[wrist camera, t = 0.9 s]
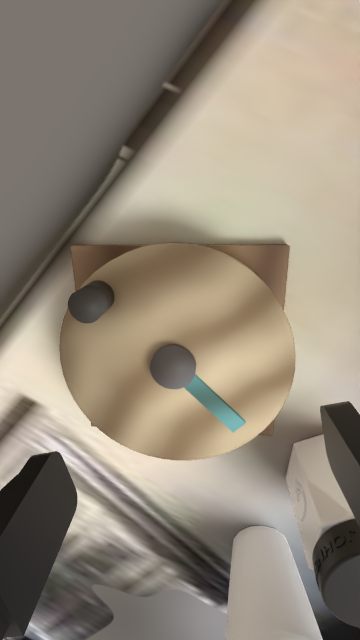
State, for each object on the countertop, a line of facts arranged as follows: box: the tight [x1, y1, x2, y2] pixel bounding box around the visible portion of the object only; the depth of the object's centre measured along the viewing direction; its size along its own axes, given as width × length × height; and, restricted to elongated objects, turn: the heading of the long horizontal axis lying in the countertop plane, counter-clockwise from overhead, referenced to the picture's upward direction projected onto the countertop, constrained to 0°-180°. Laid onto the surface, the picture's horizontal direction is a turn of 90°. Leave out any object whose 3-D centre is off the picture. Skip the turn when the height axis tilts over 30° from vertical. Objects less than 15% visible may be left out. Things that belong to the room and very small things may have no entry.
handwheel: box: [60, 242, 295, 460], centre depth 26 cm, size 19×19×4 cm
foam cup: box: [225, 526, 323, 640], centre depth 33 cm, size 10×9×13 cm
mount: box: [71, 244, 290, 436], centre depth 30 cm, size 18×18×3 cm
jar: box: [286, 434, 360, 628], centre depth 29 cm, size 9×8×12 cm
